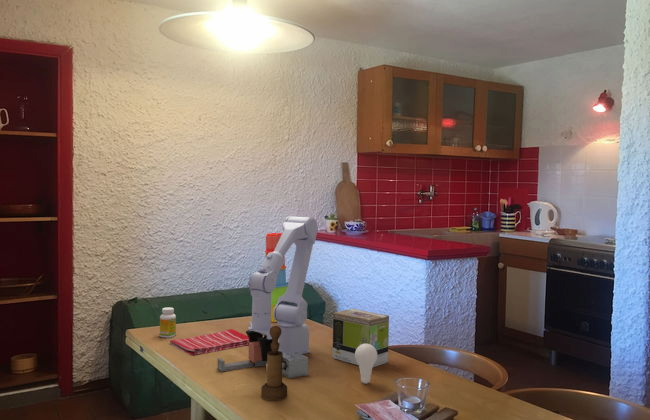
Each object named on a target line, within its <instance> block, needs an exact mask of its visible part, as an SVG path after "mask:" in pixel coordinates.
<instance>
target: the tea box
mask: <svg viewBox="0 0 650 420" xmlns="http://www.w3.org/2000/svg"><path fill="white" fill-rule="evenodd" d="M332 315H333V317H332V318H333V320H332V321H333V322H332V359H335V360H337V361H342V362H345V363H350V364H352V365H357V366H359V365H358V363H357V361H356V358H355V351H356V349H357V348H358V347H359V346H360V345H362V344H370V345H372V346H373V347H374V348H375V349H376V351H377V360H376V362H375V363H374V365H373V367H372V369H373V368H376V367H378V366H380V365H384V364H387V363H388V362H389V337H390V336H389V335H390V334H389V332H390V331H389V330H390V315H388V314H382V313H377V312H371V311H367V310H363V309H362V310H361V309H356V308H349V309H344V310H339V311H336V312H333V313H332Z"/></svg>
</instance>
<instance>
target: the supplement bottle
mask: <svg viewBox="0 0 650 420" xmlns="http://www.w3.org/2000/svg"><path fill="white" fill-rule="evenodd" d="M174 312H175V309H174V307H169V306H168V307H163V308H162V309H161V315H160V316H159V337H161V338H166V339H167V338H168V339H169V338H174V337H175V336H176V331H177V321H176V319H177V317H176V316H177V315H176V314H175V313H174Z"/></svg>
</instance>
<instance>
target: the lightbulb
mask: <svg viewBox="0 0 650 420" xmlns="http://www.w3.org/2000/svg"><path fill="white" fill-rule="evenodd" d="M355 358H356V361H357V363H358V365H357V366H358V367H359V373H360V381H361V383H362V384H364V385H365V384H366V385H367V384H368V383H370V382H371V376H372V371H373V368H374V367H373V365H374V363H375V362H376V360H377V351H376V349H375V348H374V347H373V346H372V345H370V344H362V345H360V346H359V347H358V348H357V349H356V351H355ZM372 367H373V368H372Z"/></svg>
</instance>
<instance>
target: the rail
mask: <svg viewBox="0 0 650 420" xmlns="http://www.w3.org/2000/svg"><path fill="white" fill-rule="evenodd" d="M225 362H226V361H225V360H224V359H223V358H222V357H219V358H217V370H218V371H219V372H221V373H222V372H223V373H224V372H226V371H227V372H228V371H233V370H239V369H247V368H251V367H253V368H254V367H255V363H253V362H252V361H251V360H249V359H248V360H242V361H235V362H228V363H225Z"/></svg>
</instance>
